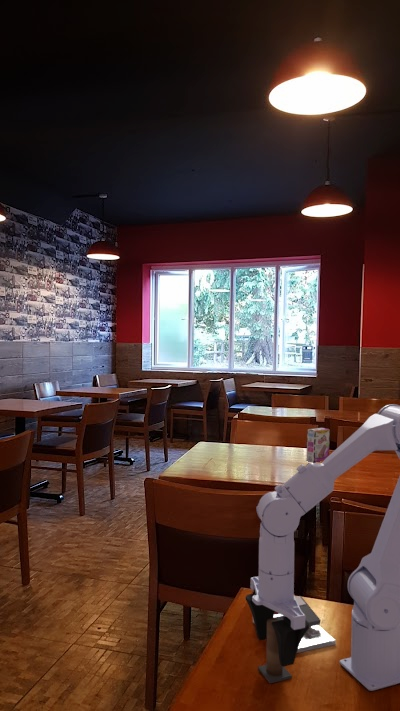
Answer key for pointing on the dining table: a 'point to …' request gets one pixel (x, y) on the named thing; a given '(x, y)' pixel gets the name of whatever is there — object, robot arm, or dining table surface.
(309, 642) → the panel
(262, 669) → the pad
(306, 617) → the block
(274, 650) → the dowel
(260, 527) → the robot arm
